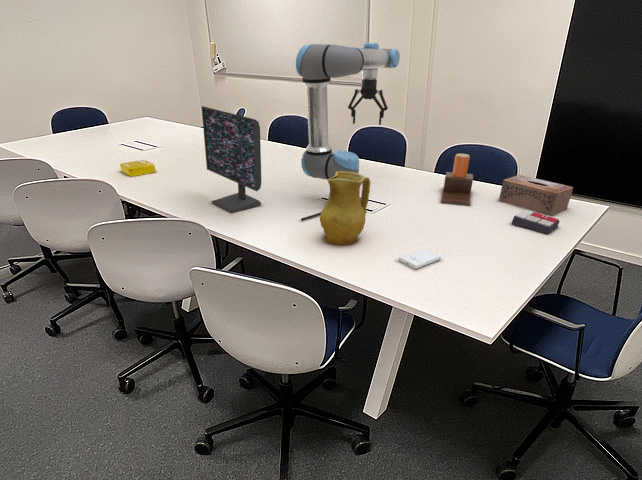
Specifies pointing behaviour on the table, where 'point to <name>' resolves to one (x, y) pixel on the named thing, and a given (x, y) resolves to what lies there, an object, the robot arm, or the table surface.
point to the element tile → (137, 168)
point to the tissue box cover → (535, 194)
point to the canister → (461, 165)
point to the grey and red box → (535, 221)
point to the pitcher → (345, 208)
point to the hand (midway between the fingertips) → (366, 124)
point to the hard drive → (419, 258)
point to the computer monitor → (233, 154)
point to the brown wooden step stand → (457, 189)
